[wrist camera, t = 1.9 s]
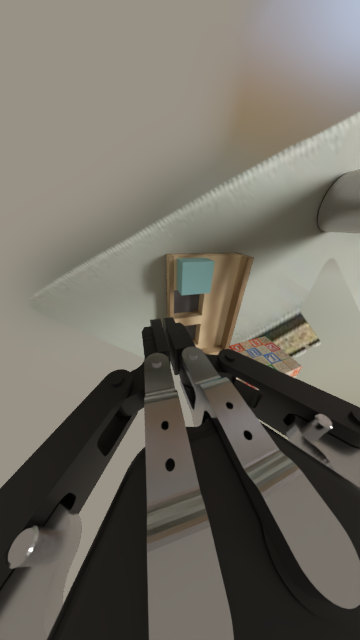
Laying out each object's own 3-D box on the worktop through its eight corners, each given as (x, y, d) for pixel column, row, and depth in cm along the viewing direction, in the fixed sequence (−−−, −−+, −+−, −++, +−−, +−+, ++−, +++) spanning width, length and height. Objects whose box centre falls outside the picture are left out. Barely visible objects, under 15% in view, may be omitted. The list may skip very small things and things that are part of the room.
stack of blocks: (199, 368, 44) (220, 409, 35) (200, 353, 41) (222, 394, 31) (260, 350, 49) (294, 382, 39) (265, 335, 45) (303, 366, 35)
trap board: (237, 253, 28) (254, 257, 25) (218, 341, 40) (227, 352, 36) (166, 254, 25) (172, 259, 21) (168, 350, 37) (172, 364, 33)
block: (206, 257, 24) (214, 261, 22) (202, 286, 27) (210, 292, 25) (177, 258, 23) (182, 262, 21) (176, 288, 26) (181, 295, 24)
